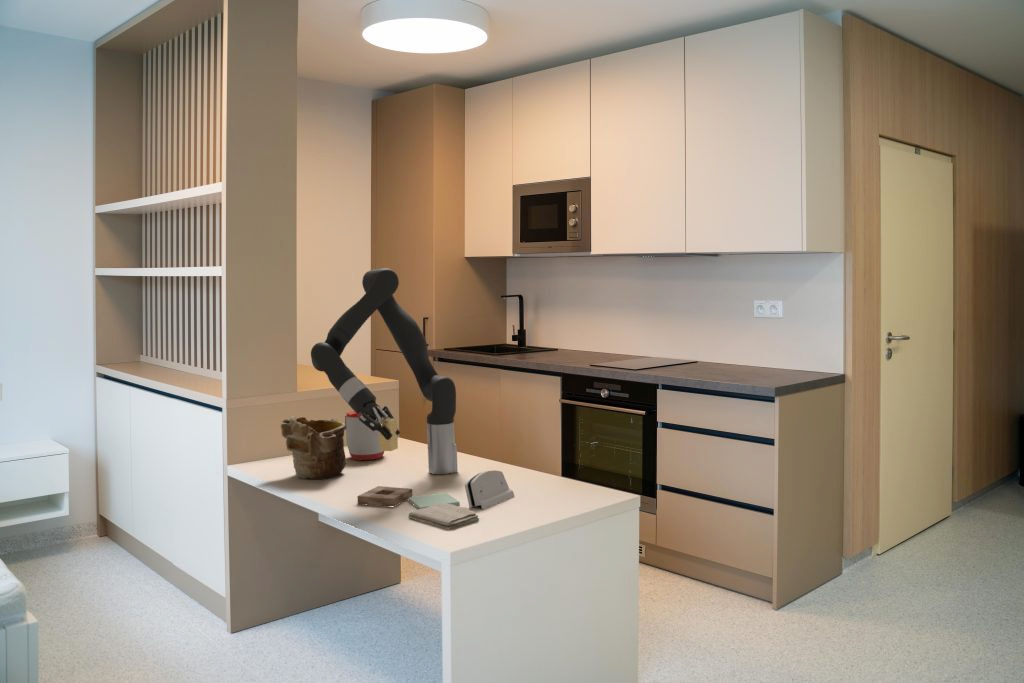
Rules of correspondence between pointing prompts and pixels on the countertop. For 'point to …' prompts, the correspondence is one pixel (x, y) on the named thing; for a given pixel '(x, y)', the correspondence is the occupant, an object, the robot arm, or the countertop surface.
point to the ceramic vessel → (315, 446)
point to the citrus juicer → (361, 439)
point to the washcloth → (445, 515)
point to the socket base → (385, 496)
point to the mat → (433, 500)
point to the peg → (393, 441)
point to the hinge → (487, 489)
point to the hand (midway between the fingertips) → (393, 436)
